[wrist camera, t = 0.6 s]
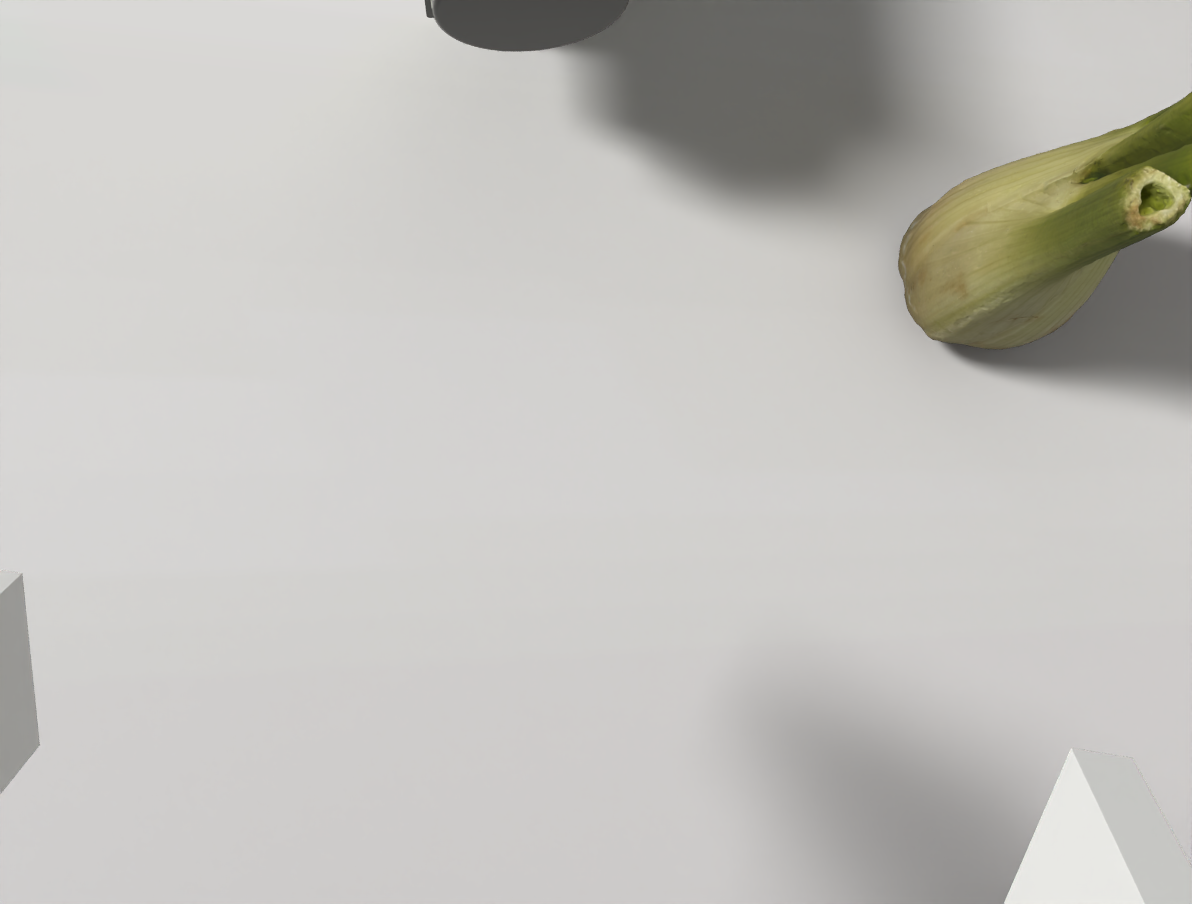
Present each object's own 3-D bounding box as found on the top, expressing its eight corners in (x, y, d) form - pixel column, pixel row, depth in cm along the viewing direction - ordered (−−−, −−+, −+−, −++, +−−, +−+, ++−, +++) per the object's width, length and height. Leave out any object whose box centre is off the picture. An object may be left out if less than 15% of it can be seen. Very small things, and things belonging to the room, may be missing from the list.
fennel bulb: (1036, 178, 33) (1342, -17, 21) (1079, 333, 33) (1414, 223, 21) (858, 220, 32) (1071, 44, 21) (902, 379, 32) (1142, 293, 20)
